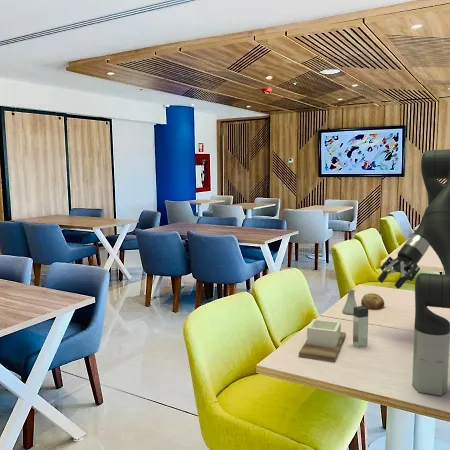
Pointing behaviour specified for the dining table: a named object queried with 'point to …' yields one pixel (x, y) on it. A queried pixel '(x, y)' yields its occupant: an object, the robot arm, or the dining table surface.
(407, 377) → the dining table surface
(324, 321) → the pale open square box
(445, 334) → the robot arm
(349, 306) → the flask
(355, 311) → the grey tall bar
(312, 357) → the serving board
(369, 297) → the bread roll
